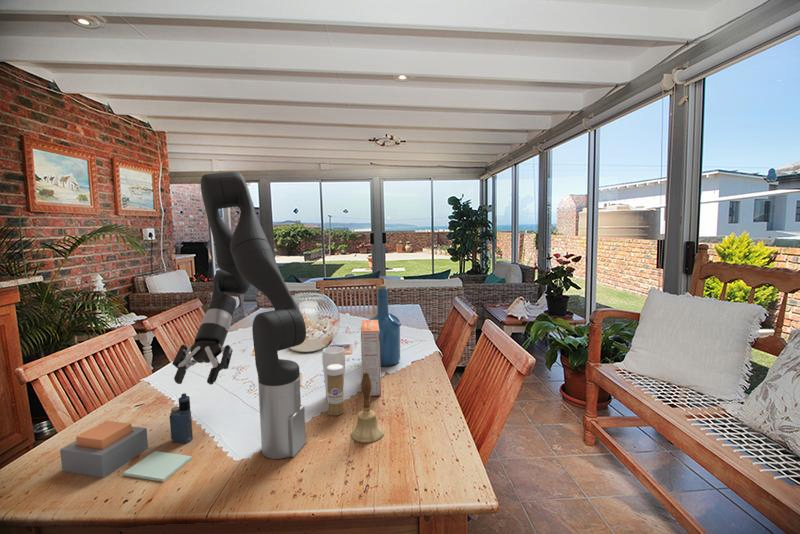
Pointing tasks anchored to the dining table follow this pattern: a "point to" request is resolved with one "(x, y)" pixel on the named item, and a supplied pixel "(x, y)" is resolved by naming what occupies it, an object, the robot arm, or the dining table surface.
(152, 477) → the pad
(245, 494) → the dining table surface
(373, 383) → the cracker box
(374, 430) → the hand bell
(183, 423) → the vaping device
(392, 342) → the wine bottle
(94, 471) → the box
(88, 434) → the button
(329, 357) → the drinking glass
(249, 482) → the dining table surface
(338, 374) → the sprinkles bottle
